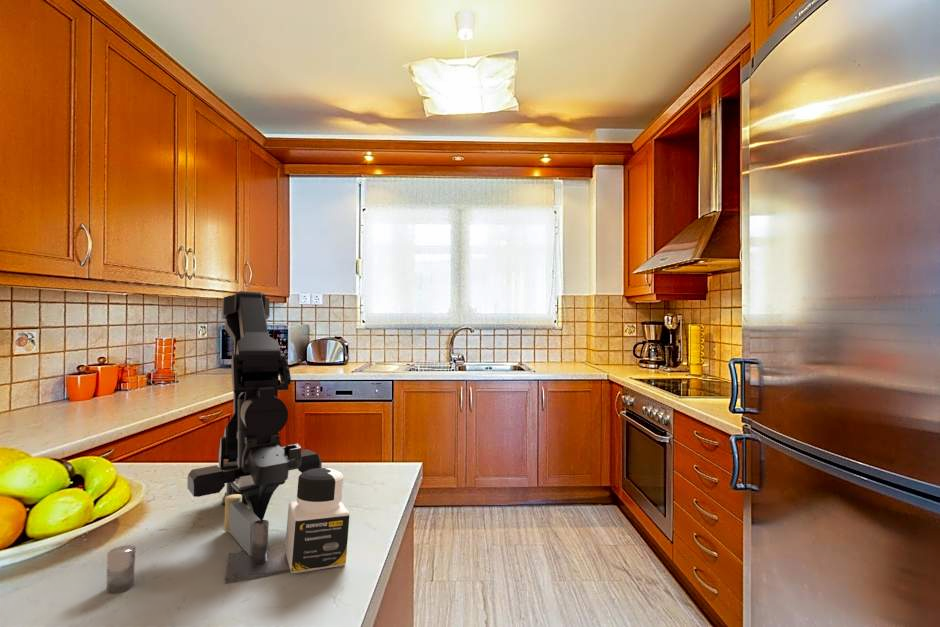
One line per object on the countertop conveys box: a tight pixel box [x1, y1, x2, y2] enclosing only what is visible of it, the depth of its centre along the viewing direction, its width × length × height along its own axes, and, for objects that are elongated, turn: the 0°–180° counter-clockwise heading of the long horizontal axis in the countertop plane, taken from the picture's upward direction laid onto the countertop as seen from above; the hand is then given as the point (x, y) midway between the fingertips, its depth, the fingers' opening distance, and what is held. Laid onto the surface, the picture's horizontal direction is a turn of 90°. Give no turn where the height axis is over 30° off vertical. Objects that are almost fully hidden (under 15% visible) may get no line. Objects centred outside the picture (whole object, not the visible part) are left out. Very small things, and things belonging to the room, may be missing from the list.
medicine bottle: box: [284, 467, 350, 574], centre depth 67 cm, size 7×7×12 cm
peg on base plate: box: [224, 519, 291, 584], centre depth 66 cm, size 8×8×6 cm
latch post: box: [105, 544, 136, 594], centre depth 59 cm, size 3×3×4 cm
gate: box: [223, 494, 260, 556], centre depth 72 cm, size 13×2×5 cm, turn 41°
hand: (258, 526), depth 75 cm, fingers closed
